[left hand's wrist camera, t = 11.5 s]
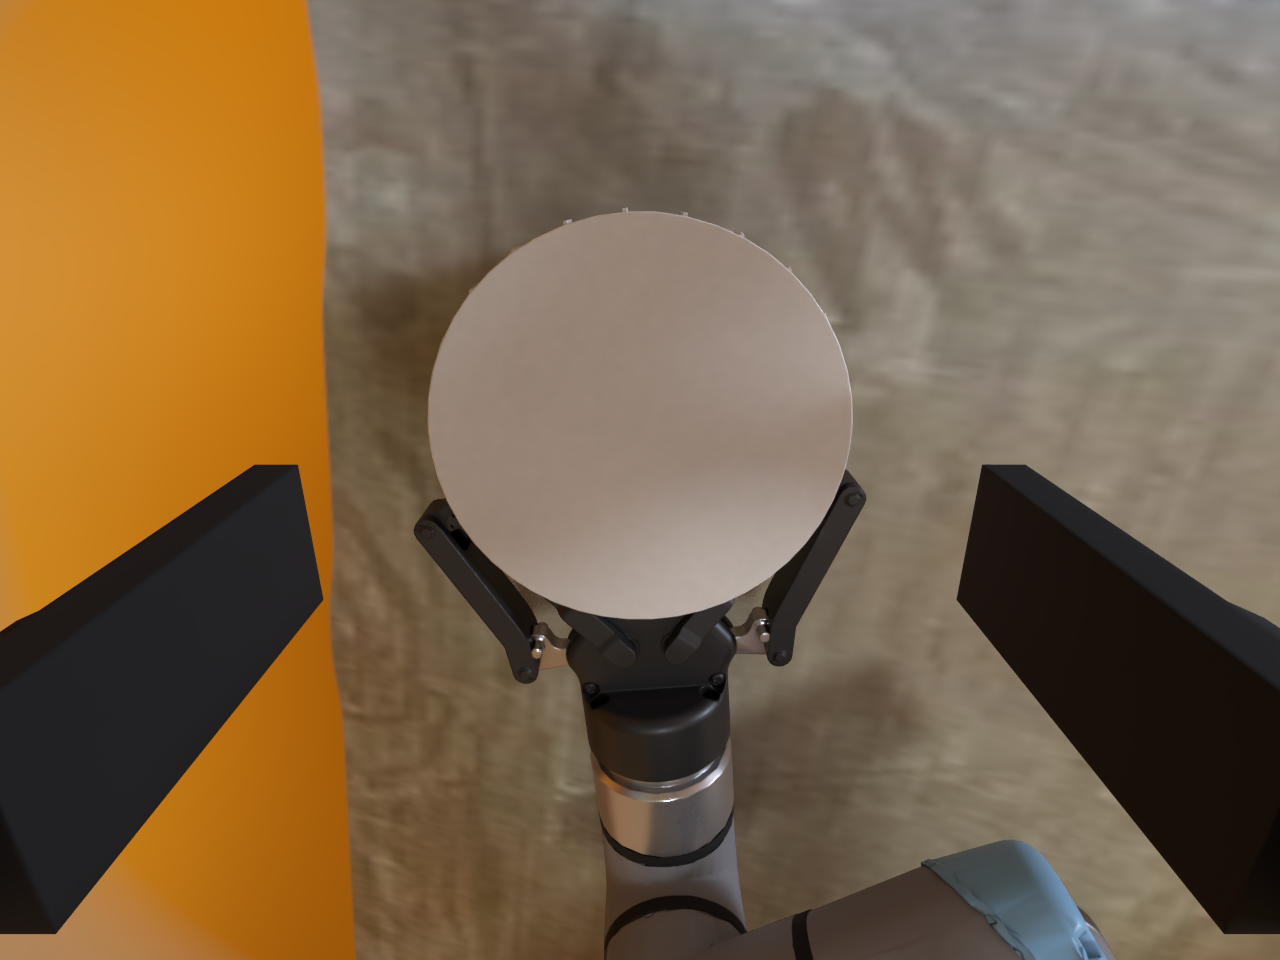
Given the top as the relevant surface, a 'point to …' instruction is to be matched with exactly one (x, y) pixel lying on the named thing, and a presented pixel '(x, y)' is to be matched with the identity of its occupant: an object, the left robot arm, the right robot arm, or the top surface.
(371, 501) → the top surface
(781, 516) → the lid
